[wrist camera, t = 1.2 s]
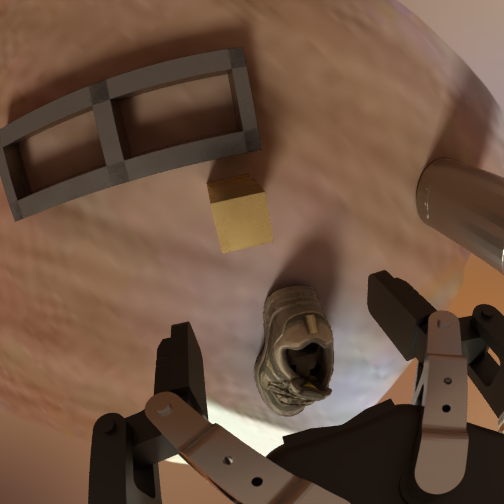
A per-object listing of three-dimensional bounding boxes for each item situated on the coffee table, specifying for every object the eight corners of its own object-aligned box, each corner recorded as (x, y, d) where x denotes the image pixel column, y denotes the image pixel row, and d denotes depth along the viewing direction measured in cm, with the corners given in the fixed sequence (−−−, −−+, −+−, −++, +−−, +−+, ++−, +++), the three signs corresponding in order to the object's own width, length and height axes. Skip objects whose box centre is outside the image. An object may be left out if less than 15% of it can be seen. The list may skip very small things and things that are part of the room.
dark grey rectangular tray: (237, 54, 23) (242, 46, 20) (254, 146, 27) (261, 149, 24) (6, 131, 21) (-10, 134, 18) (28, 211, 25) (15, 221, 22)
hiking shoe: (245, 413, 40) (305, 460, 31) (232, 287, 33) (319, 331, 24) (290, 384, 45) (349, 420, 37) (291, 264, 38) (373, 292, 30)
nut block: (248, 173, 28) (265, 191, 22) (255, 213, 30) (273, 241, 24) (206, 183, 28) (210, 204, 21) (215, 222, 29) (222, 253, 23)
